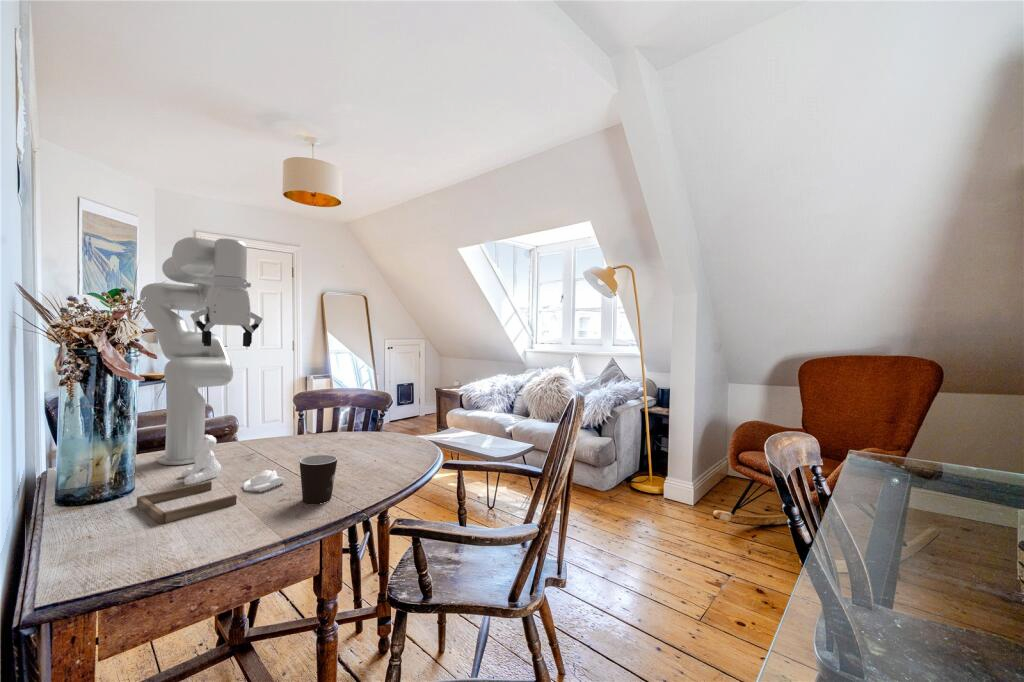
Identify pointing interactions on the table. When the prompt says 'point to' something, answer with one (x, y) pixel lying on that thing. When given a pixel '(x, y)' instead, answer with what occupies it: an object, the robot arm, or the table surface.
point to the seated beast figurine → (203, 463)
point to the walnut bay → (164, 517)
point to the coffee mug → (317, 478)
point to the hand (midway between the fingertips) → (227, 346)
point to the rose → (263, 481)
